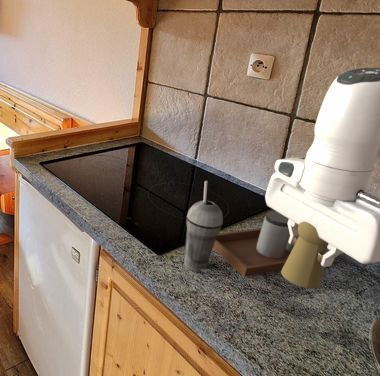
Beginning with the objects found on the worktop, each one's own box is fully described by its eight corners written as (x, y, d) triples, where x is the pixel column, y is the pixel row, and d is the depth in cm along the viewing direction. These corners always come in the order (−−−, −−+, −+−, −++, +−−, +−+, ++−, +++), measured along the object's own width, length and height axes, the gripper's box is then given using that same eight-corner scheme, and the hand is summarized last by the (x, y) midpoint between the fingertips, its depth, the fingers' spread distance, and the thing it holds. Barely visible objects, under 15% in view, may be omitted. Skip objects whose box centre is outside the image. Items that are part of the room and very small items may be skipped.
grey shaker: (270, 243, 97) (280, 209, 93) (289, 256, 92) (301, 222, 88) (250, 246, 95) (259, 212, 91) (268, 260, 90) (279, 225, 86)
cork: (282, 262, 73) (298, 209, 69) (321, 273, 70) (341, 218, 66) (280, 280, 69) (297, 224, 64) (321, 292, 66) (343, 234, 61)
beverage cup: (208, 279, 85) (228, 193, 76) (173, 268, 88) (189, 184, 79) (215, 262, 90) (234, 180, 82) (182, 252, 94) (197, 172, 85)
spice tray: (286, 233, 102) (289, 223, 101) (333, 264, 90) (337, 254, 89) (204, 244, 97) (207, 234, 96) (243, 279, 85) (246, 268, 84)
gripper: (422, 206, 53) (384, 290, 59) (298, 154, 71) (278, 222, 77) (385, 212, 52) (350, 297, 58) (268, 157, 70) (250, 226, 76)
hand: (308, 254), depth 68 cm, fingers closed on cork, 4 cm apart
